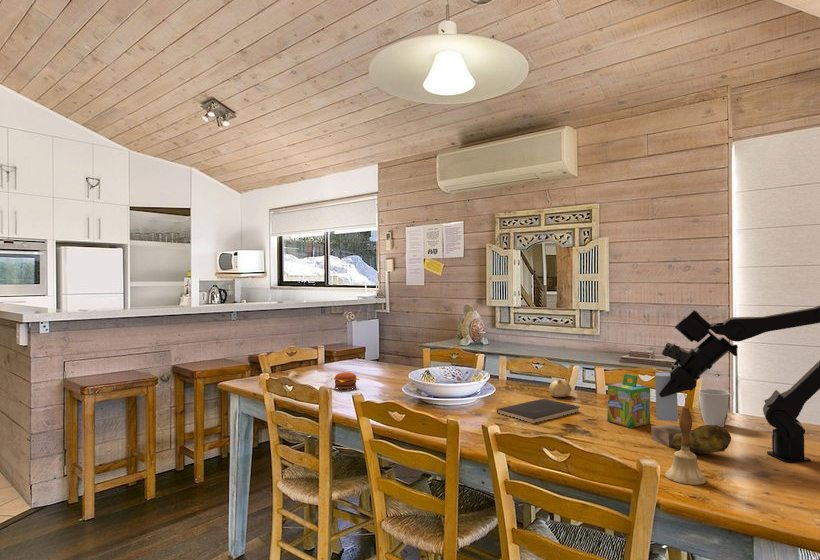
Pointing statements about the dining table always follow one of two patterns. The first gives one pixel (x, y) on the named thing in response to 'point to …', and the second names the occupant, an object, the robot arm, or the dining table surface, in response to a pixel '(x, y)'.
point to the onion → (560, 388)
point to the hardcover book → (538, 410)
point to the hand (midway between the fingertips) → (660, 393)
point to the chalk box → (628, 403)
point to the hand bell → (685, 456)
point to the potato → (705, 439)
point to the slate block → (665, 400)
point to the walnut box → (664, 433)
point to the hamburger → (345, 380)
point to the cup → (714, 406)
